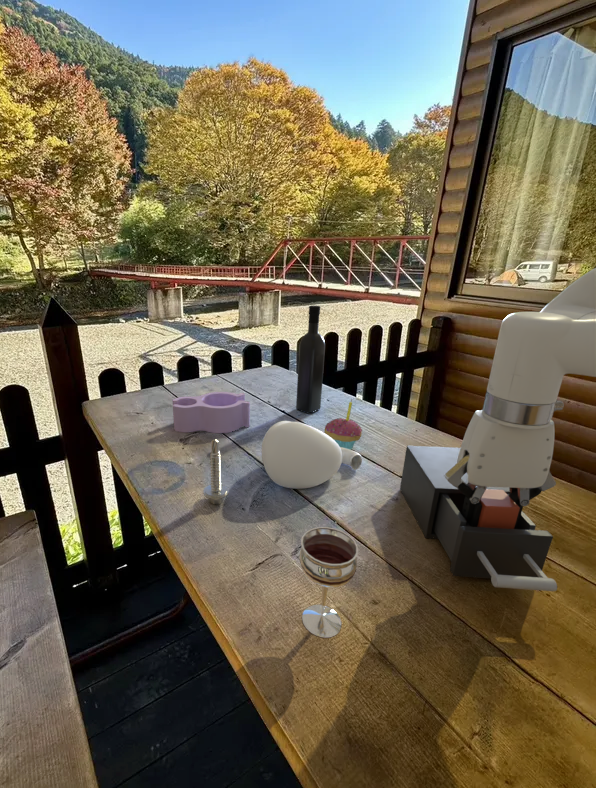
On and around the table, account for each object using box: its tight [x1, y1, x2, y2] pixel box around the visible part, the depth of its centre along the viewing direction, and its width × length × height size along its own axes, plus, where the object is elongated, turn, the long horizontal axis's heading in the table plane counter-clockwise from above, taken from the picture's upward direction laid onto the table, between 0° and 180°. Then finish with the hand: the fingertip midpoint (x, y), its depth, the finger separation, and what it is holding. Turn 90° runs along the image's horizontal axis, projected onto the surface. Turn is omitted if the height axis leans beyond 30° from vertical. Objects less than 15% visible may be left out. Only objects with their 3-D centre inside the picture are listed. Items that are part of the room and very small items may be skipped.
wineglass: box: [298, 526, 359, 638], centre depth 51 cm, size 7×7×12 cm
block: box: [477, 489, 520, 529], centre depth 60 cm, size 4×4×4 cm
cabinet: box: [399, 445, 510, 540], centre depth 72 cm, size 15×13×10 cm
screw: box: [202, 438, 230, 505], centre depth 76 cm, size 13×5×5 cm
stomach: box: [260, 420, 363, 490], centre depth 90 cm, size 23×13×24 cm
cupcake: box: [323, 398, 363, 450], centre depth 95 cm, size 9×8×12 cm
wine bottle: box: [295, 305, 326, 413], centre depth 115 cm, size 6×6×30 cm
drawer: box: [432, 493, 558, 592], centre depth 60 cm, size 19×11×8 cm, turn 174°
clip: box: [172, 391, 251, 434], centre depth 110 cm, size 20×12×7 cm, turn 99°
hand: (488, 521), depth 60 cm, fingers closed on block, 4 cm apart
